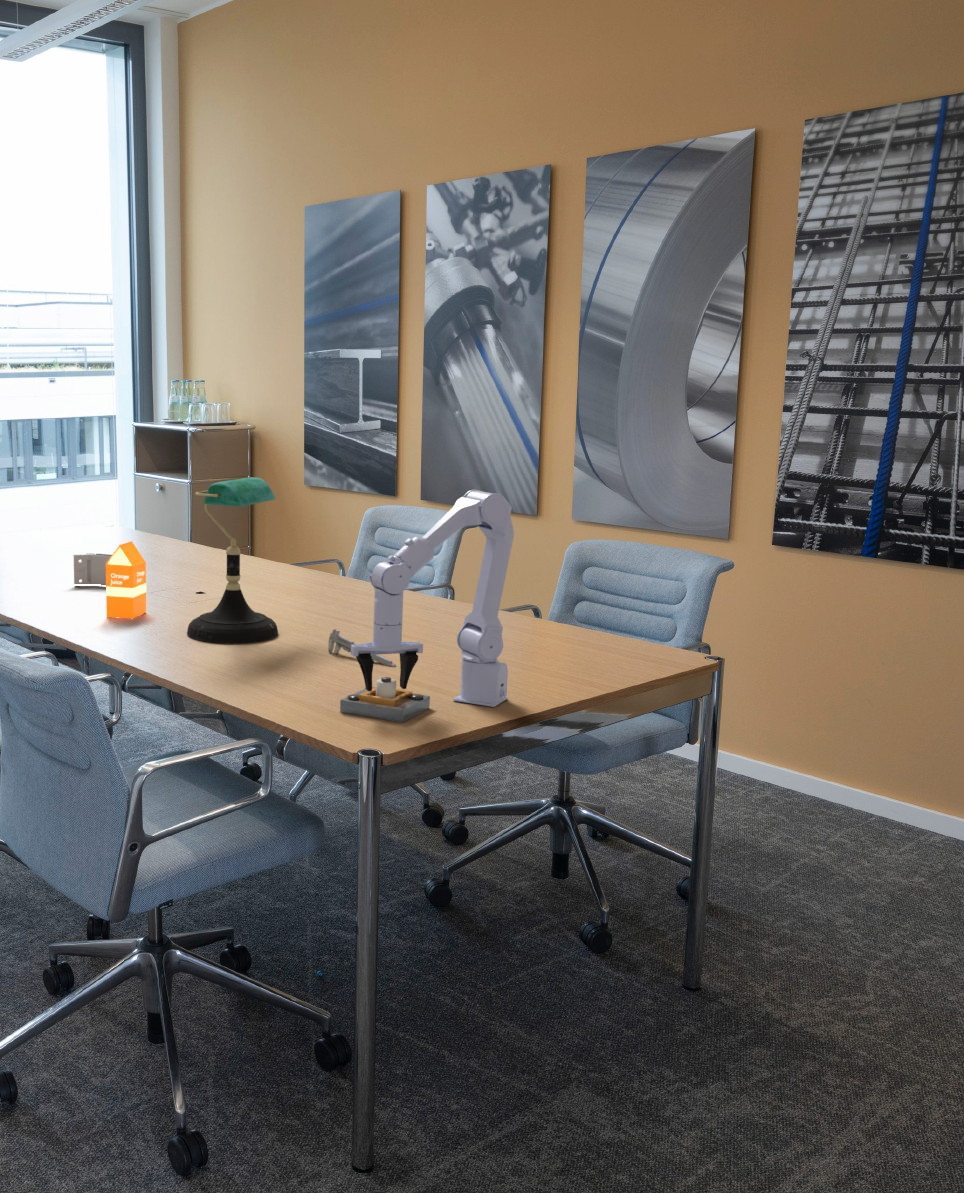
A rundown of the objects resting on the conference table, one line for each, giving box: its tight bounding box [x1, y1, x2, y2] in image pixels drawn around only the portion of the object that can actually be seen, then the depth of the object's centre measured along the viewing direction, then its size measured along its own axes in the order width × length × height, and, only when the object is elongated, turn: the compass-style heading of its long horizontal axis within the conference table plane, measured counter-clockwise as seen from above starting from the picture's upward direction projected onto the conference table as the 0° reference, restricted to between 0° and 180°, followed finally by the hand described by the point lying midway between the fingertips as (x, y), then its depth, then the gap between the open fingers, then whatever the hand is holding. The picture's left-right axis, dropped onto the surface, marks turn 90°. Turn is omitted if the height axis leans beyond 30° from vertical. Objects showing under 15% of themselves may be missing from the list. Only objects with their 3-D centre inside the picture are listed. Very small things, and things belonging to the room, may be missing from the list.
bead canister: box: [375, 676, 397, 699], centre depth 220 cm, size 4×4×7 cm
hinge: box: [73, 552, 113, 585], centre depth 339 cm, size 14×5×10 cm, turn 94°
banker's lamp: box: [186, 476, 279, 644], centre depth 279 cm, size 26×23×40 cm
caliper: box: [327, 628, 397, 668], centre depth 261 cm, size 20×1×6 cm, turn 56°
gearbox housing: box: [339, 686, 431, 724], centre depth 220 cm, size 14×12×4 cm
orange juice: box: [105, 541, 147, 619], centre depth 297 cm, size 8×9×20 cm
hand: (386, 688), depth 220 cm, fingers open, 7 cm apart
